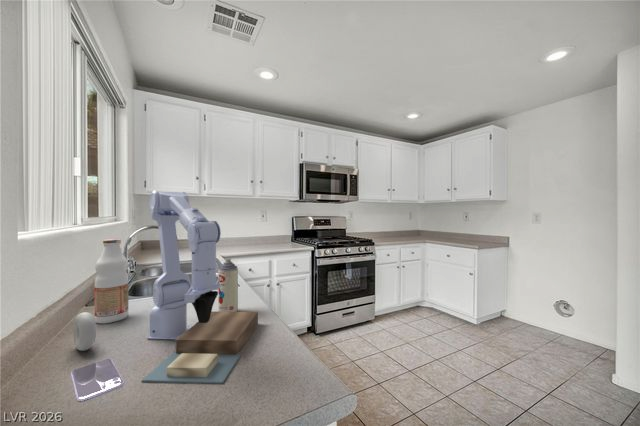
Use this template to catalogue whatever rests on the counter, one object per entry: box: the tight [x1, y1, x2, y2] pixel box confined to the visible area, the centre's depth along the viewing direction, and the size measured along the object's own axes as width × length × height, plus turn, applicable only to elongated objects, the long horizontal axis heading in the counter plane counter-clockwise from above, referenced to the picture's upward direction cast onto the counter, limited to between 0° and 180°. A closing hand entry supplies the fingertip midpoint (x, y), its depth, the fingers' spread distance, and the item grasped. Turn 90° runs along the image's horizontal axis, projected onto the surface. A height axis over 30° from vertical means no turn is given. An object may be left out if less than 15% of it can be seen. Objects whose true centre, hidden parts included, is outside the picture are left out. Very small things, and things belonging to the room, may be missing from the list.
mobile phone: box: [70, 358, 125, 402], centre depth 59 cm, size 8×1×15 cm
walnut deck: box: [175, 310, 259, 355], centre depth 78 cm, size 16×20×4 cm
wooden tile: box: [167, 353, 218, 377], centre depth 61 cm, size 9×6×2 cm, turn 88°
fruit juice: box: [94, 238, 129, 324], centre depth 93 cm, size 9×9×28 cm
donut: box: [72, 311, 97, 352], centre depth 72 cm, size 10×4×10 cm, turn 54°
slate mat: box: [141, 351, 242, 385], centre depth 63 cm, size 18×12×1 cm, turn 88°
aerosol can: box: [217, 258, 239, 312], centre depth 98 cm, size 7×7×20 cm
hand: (204, 321), depth 67 cm, fingers closed
